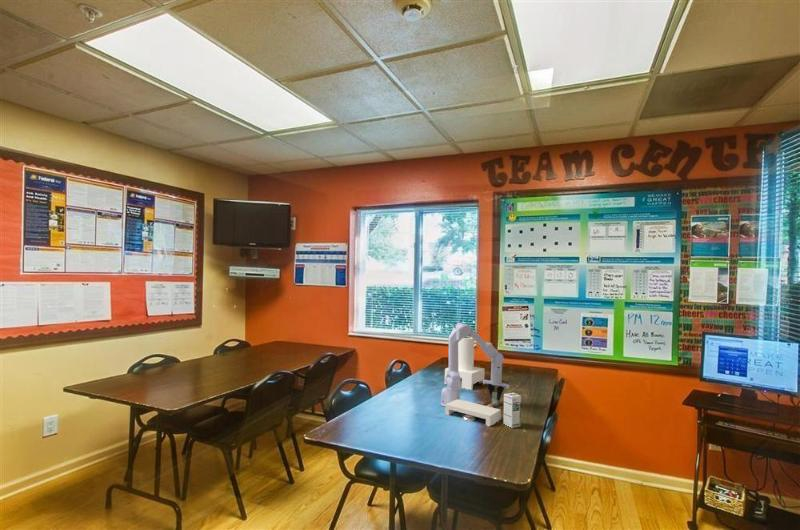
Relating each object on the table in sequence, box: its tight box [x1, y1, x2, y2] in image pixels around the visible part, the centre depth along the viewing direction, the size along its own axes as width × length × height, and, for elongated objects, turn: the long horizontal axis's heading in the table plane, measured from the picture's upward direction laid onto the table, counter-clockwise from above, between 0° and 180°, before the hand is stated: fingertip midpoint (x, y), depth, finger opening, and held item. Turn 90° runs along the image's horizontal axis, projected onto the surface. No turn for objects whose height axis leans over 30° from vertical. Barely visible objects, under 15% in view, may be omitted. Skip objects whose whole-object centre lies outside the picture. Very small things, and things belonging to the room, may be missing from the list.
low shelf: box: [444, 399, 502, 427], centre depth 200 cm, size 24×12×5 cm, turn 52°
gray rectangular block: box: [486, 390, 500, 408], centre depth 214 cm, size 22×6×7 cm, turn 142°
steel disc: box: [462, 414, 476, 422], centre depth 197 cm, size 6×6×1 cm
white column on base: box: [444, 336, 485, 391], centre depth 262 cm, size 19×19×30 cm
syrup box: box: [503, 392, 522, 429], centre depth 191 cm, size 6×6×14 cm
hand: (495, 399), depth 221 cm, fingers closed on gray rectangular block, 3 cm apart
